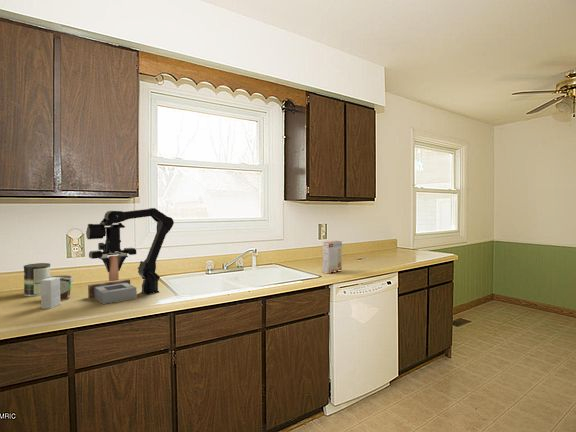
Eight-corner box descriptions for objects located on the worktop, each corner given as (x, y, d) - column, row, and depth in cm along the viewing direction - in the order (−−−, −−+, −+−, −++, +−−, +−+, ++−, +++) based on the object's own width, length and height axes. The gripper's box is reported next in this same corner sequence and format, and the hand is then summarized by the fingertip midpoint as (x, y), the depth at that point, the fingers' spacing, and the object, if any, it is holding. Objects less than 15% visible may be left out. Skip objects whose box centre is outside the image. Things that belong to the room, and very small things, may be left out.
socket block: (126, 292, 161) (126, 282, 161) (136, 298, 151) (136, 287, 151) (94, 297, 151) (94, 287, 151) (103, 304, 141) (103, 292, 141)
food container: (79, 295, 154) (79, 275, 153) (70, 299, 147) (70, 277, 147) (52, 295, 153) (52, 274, 153) (43, 299, 147) (43, 277, 147)
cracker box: (335, 270, 226) (335, 240, 226) (342, 271, 222) (342, 241, 221) (321, 272, 217) (322, 241, 216) (328, 274, 212) (329, 242, 212)
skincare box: (50, 304, 140) (50, 277, 139) (60, 304, 140) (60, 277, 140) (40, 308, 134) (40, 280, 133) (51, 308, 134) (50, 280, 134)
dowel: (116, 278, 152) (116, 255, 152) (119, 280, 149) (119, 256, 149) (107, 279, 149) (107, 256, 149) (110, 281, 146) (110, 257, 146)
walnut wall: (128, 290, 164) (128, 279, 163) (130, 291, 162) (130, 279, 162) (88, 297, 151) (88, 284, 151) (89, 298, 149) (89, 285, 149)
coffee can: (20, 297, 150) (19, 267, 150) (28, 291, 160) (28, 263, 159) (46, 295, 154) (46, 266, 154) (53, 290, 163) (53, 262, 163)
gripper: (128, 235, 161) (128, 266, 161) (85, 238, 147) (85, 271, 148) (136, 236, 153) (137, 269, 154) (92, 239, 140) (92, 275, 140)
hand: (113, 271), depth 149 cm, fingers closed on dowel, 4 cm apart
